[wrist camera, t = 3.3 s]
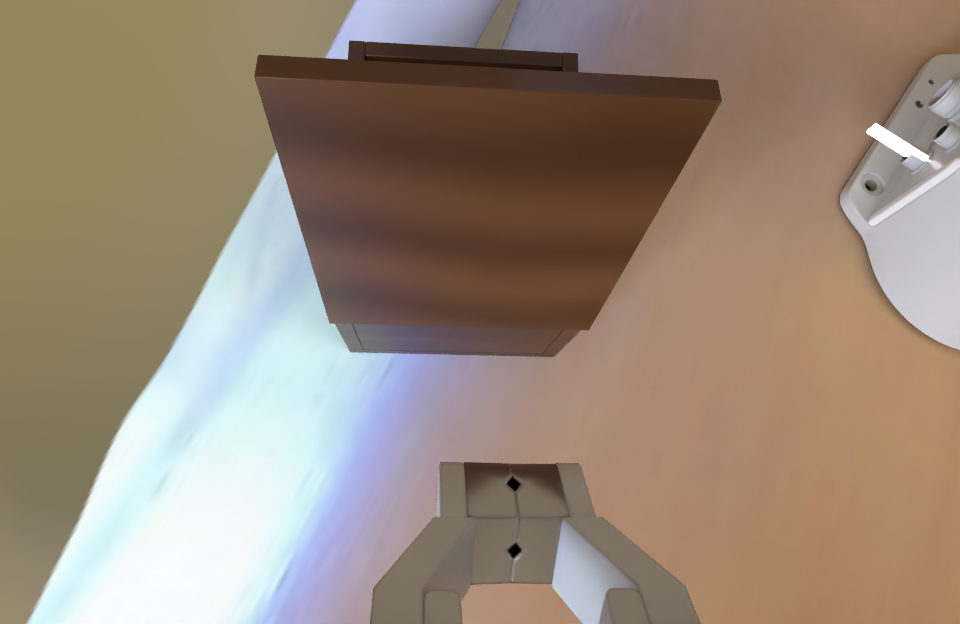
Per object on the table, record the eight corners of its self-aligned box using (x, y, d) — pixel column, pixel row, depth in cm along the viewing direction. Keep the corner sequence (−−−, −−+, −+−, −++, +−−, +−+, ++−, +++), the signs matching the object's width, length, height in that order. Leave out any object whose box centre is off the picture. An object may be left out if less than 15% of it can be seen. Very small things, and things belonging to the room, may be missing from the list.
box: (363, 122, 46) (349, 40, 38) (549, 131, 47) (577, 53, 39) (350, 352, 42) (331, 318, 34) (554, 357, 43) (586, 325, 35)
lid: (257, 53, 18) (253, 76, 18) (718, 78, 19) (722, 101, 19) (330, 308, 34) (329, 323, 33) (587, 315, 34) (588, 330, 34)
